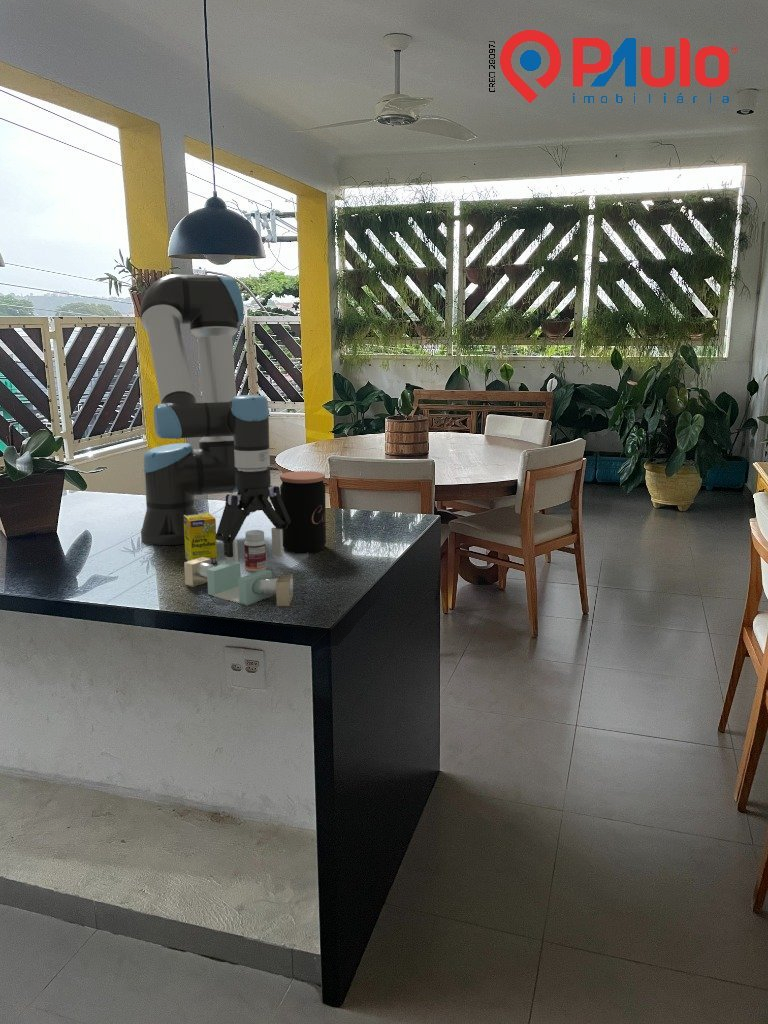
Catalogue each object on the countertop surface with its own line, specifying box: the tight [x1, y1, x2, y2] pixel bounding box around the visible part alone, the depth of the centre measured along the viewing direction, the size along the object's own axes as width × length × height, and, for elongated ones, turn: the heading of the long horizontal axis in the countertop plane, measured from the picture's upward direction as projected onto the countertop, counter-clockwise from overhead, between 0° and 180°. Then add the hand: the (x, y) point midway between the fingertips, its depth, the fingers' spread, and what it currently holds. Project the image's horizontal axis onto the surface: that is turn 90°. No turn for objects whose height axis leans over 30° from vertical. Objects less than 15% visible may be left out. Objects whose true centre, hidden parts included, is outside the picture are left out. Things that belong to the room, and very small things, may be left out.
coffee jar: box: [279, 470, 327, 555], centre depth 182 cm, size 11×11×18 cm
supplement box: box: [184, 512, 218, 566], centre depth 171 cm, size 6×6×11 cm
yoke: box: [207, 561, 273, 607], centre depth 151 cm, size 11×7×5 cm, turn 53°
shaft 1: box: [183, 557, 217, 588], centre depth 157 cm, size 9×5×5 cm, turn 53°
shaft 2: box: [252, 573, 294, 607], centre depth 148 cm, size 8×5×5 cm, turn 88°
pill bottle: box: [243, 529, 268, 573], centre depth 168 cm, size 5×5×8 cm
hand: (255, 563), depth 168 cm, fingers open, 13 cm apart
